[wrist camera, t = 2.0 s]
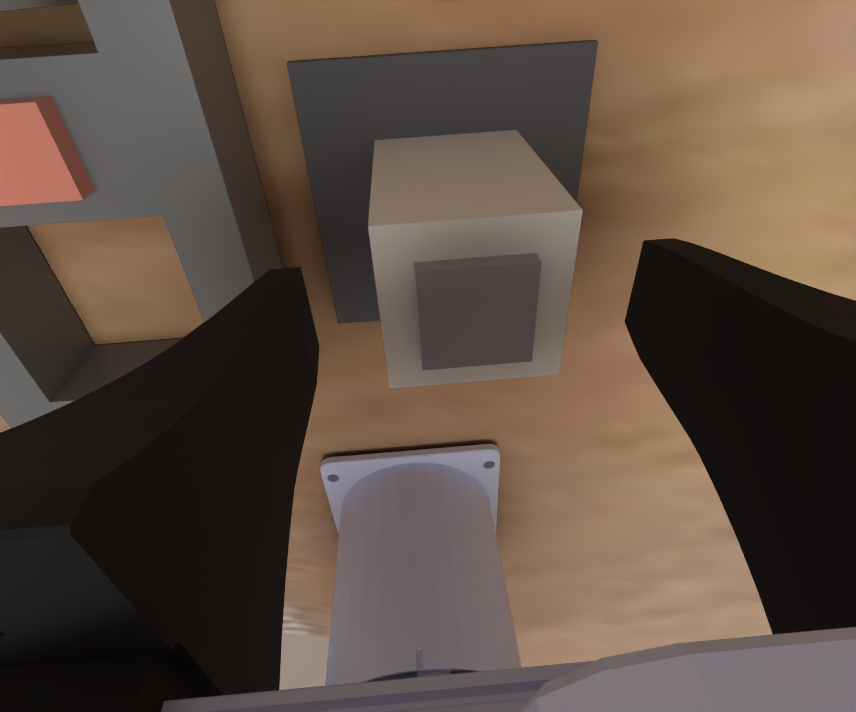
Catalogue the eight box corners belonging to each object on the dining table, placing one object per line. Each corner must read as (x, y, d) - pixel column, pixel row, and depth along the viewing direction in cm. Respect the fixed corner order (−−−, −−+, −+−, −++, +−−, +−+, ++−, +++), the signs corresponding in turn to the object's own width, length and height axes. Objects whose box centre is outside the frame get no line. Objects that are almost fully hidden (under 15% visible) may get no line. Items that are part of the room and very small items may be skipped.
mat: (560, 301, 18) (562, 305, 18) (338, 318, 18) (338, 323, 18) (594, 40, 13) (597, 41, 13) (288, 61, 13) (287, 62, 13)
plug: (509, 259, 16) (563, 386, 11) (388, 268, 16) (389, 400, 11) (516, 129, 14) (589, 218, 9) (374, 139, 14) (366, 235, 9)
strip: (322, 421, 21) (303, 553, 16) (105, 439, 21) (21, 578, 16) (82, -510, 8) (-372, -1227, 3) (-499, -482, 8) (-1890, -1197, 3)
